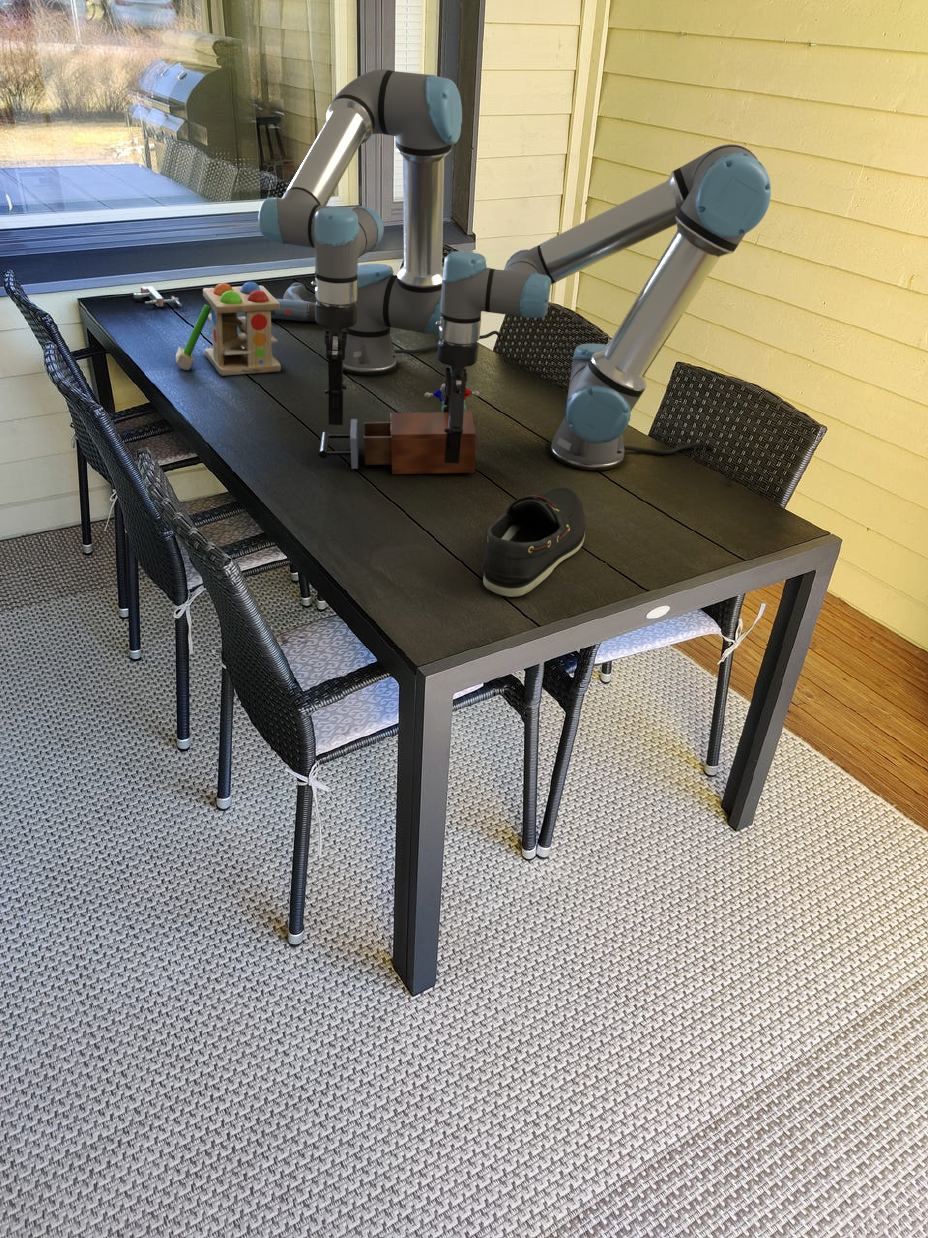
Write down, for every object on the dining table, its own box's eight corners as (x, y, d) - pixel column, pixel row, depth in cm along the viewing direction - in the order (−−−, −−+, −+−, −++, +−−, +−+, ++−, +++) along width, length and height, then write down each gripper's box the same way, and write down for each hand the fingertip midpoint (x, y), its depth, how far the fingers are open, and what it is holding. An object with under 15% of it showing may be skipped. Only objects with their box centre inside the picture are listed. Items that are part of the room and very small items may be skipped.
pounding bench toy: (183, 379, 220) (176, 299, 210) (169, 357, 231) (162, 280, 221) (282, 371, 230) (280, 294, 220) (264, 350, 240) (262, 276, 230)
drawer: (319, 469, 189) (317, 439, 186) (322, 448, 197) (320, 419, 194) (428, 467, 191) (428, 437, 187) (426, 447, 199) (426, 417, 195)
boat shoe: (609, 530, 179) (617, 478, 174) (520, 603, 155) (525, 545, 150) (547, 511, 185) (553, 460, 179) (452, 578, 161) (455, 522, 155)
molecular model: (472, 422, 205) (456, 376, 203) (432, 437, 208) (416, 391, 207) (488, 419, 215) (474, 375, 214) (450, 433, 219) (435, 390, 218)
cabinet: (392, 474, 190) (390, 434, 186) (391, 450, 199) (390, 412, 194) (474, 472, 191) (475, 433, 187) (470, 449, 200) (471, 411, 196)
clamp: (129, 286, 265) (166, 284, 270) (130, 295, 267) (167, 292, 271) (144, 303, 255) (182, 300, 259) (145, 312, 256) (183, 309, 261)
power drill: (344, 304, 276) (335, 327, 259) (277, 298, 275) (264, 321, 258) (344, 285, 273) (335, 306, 256) (277, 279, 272) (264, 300, 255)
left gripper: (316, 288, 181) (317, 408, 195) (313, 311, 170) (314, 436, 184) (357, 291, 182) (355, 410, 195) (356, 314, 171) (354, 438, 185)
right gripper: (435, 319, 191) (428, 425, 203) (441, 360, 172) (433, 474, 184) (473, 321, 192) (464, 426, 204) (484, 363, 173) (473, 476, 185)
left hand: (335, 423), depth 190 cm, fingers closed
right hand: (449, 449), depth 194 cm, fingers closed on cabinet, 11 cm apart
